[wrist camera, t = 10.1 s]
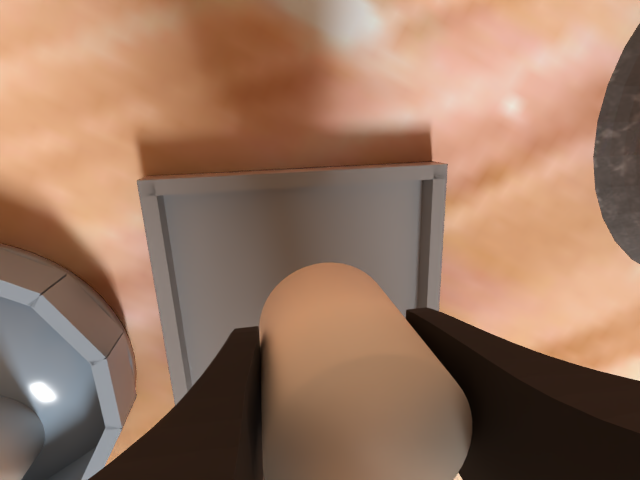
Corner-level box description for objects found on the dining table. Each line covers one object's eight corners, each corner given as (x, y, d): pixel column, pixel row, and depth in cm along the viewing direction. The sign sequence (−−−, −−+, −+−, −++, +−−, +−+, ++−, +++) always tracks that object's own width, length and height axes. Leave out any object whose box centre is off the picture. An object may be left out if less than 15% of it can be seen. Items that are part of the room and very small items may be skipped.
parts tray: (419, 436, 21) (430, 456, 20) (195, 472, 20) (190, 497, 18) (432, 161, 17) (447, 164, 16) (146, 176, 15) (136, 180, 14)
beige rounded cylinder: (387, 372, 12) (465, 511, 8) (264, 389, 12) (270, 550, 7) (389, 256, 11) (480, 341, 7) (253, 269, 11) (252, 370, 6)
